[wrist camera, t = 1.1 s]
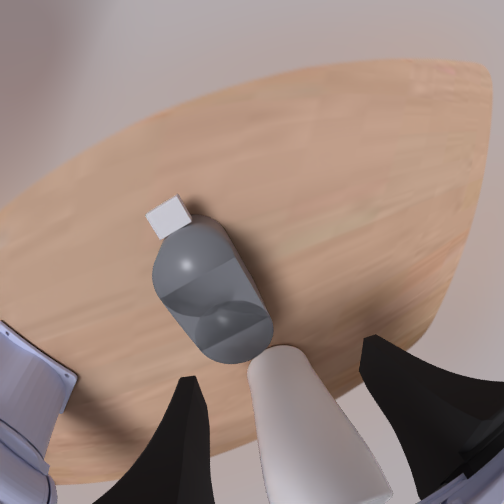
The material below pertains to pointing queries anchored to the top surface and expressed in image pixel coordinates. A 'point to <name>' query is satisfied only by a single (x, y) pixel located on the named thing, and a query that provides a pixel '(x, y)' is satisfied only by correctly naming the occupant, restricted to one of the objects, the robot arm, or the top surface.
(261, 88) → the top surface
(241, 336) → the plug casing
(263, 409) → the drinking glass
